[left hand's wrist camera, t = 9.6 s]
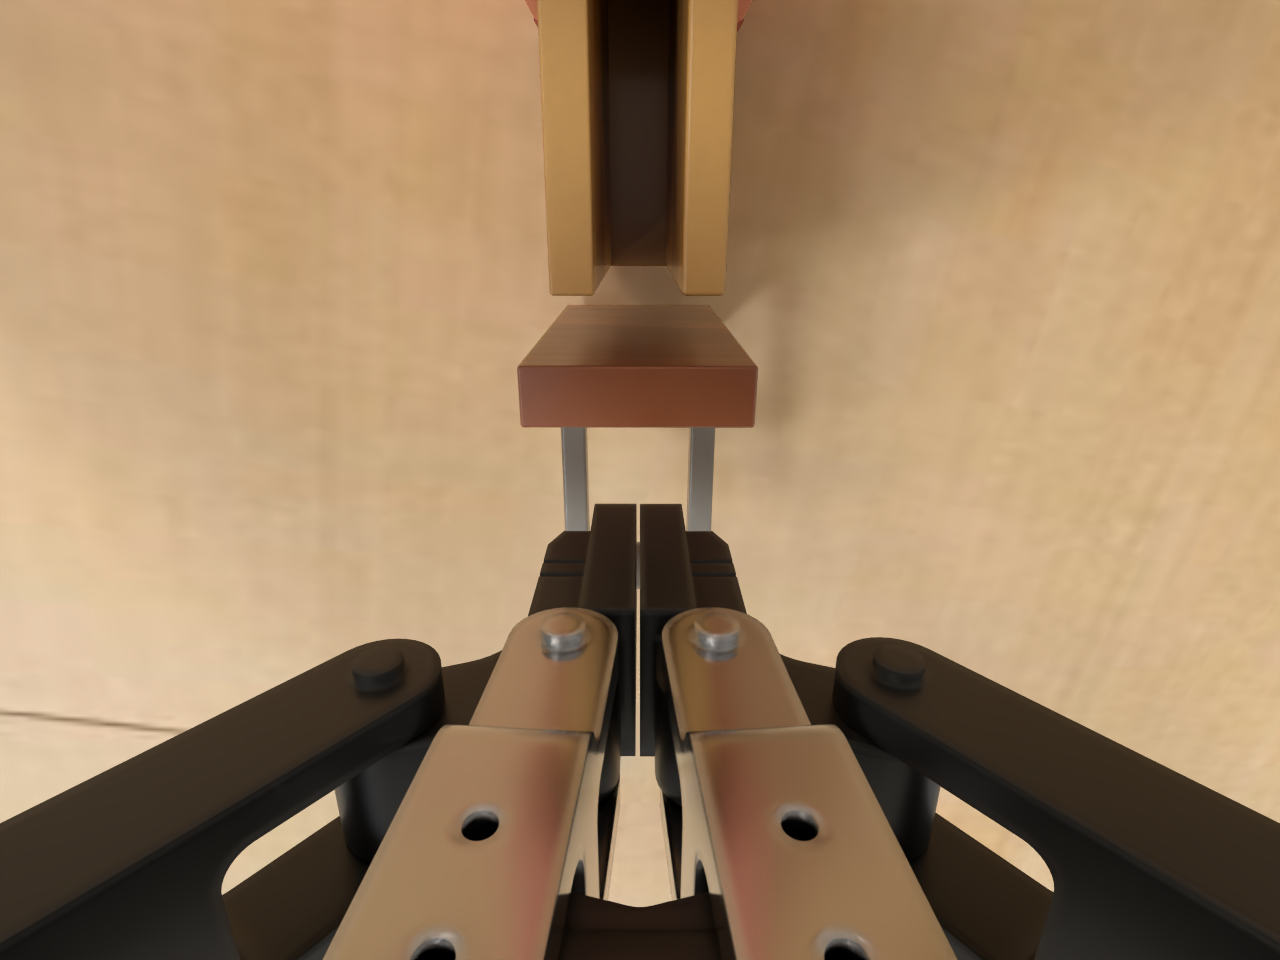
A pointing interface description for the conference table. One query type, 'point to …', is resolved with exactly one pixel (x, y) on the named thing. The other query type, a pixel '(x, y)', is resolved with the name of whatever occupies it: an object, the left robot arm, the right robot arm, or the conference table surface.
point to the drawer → (637, 231)
